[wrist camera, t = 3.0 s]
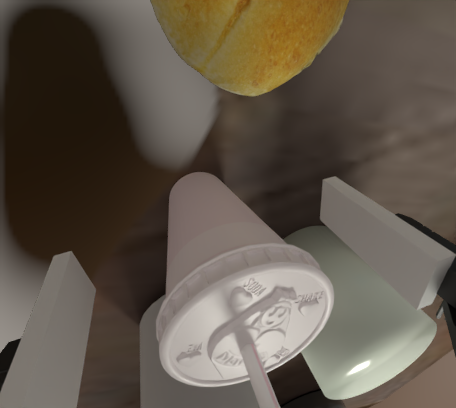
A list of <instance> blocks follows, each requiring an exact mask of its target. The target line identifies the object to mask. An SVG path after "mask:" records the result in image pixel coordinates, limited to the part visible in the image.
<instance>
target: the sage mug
mask: <svg viewBox="0 0 456 408" xmlns="http://www.w3.org/2000/svg"><path fill="white" fill-rule="evenodd" d="M283 240H284V241H285V242H286V243H287V244H289V245H294V246H296V247H298V248H300V249H302V250H304V251H306V252H308V253H310V254H311V256H312V257H313V258H314V259H315V260H316V261H317V262H318V264H319V266H320V269H321V270H322V271H323V273H324V274H325V275H326V276H327V277H328V278H329V280H330V281H331V284H332V286H333V289H334V303H333V308H332V311H331V314H330V317H329V319H328V320H327V322H326V324H325V326H324V327H323V329H322V330H321V331H320V333H319V334H318V335H317V336H316V338H315V339H314V340H313V341H312V342H311V343H310V344H309V345H308V346H307V347H306V348H305V349H303V350H302V351H301V353H302V355H303V357H304V359H305V361H306V362H307V364H308V366H309V368H310V370H311V372H312V374H313V375H314V377H315V379H316V381H317V383H318V385H319V386H320V388H321V390H322V392H323V394H324V395H325V397H327V398H329V399H333V400H340V399H346V398H351V397H354V396H357V395H360V394H362V393H365V392H367V391H369V390H372V389H374V388H376V387H377V386H379V385H381V384H383V383H385V382H386V381H388V380H390V379H391V378H393V377H394V376H396V375H397V374H399V373H400V372H401V371H403V370H404V369H405V368H407V367H408V366H409V365H410V364H411V363H413V362H414V361H415V360H416V359H417V358H418V357H419V356H420V355H421V354H422V353H423V352H424V351H425V350H426V348H427V347H428V346H429V345H430V343H431V342H432V340H433V338H434V336H435V334H436V330H437V325H436V323H435V322H434V321H433V320H432V319H431V318H430V317H429V316H428V315H427V314H426V313H425V312H424V311H422V310H421V309H418V310H416V309H415V308H414V307H413V306H412V305H411V304H409V303H408V302H407V301H406V300H405V299H404V298H403V297H402V296H401V295H400V294H399V293H398V292H397V291H396V290H395V289H393V288H392V287H391V286H390V285H389V284H388V283H387V282H386V281H385V280H384V279H383V278H382V277H381V276H380V275H379V274H377V273H376V272H375V271H374V270H373V269H372V268H371V267H370V266H369V265H368V264H367V263H366V262H365V261H364V260H363V259H361V258H360V257H359V256H358V255H357V254H356V253H355V252H354V251H353V250H352V249H351V248H350V247H349V246H348V245H347V244H345V243H344V242H343V241H342V240H341V239H340V238H339V237H338V236H337V235H336V234H335V233H334V232H333V231H332V230H331V229H329V228H328V227H327V226H310V227H306V228H303V229H300V230H298V231H296V232H294V233H292V234H290V235H288V236H287V237H286V238H284V239H283Z"/></svg>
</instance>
